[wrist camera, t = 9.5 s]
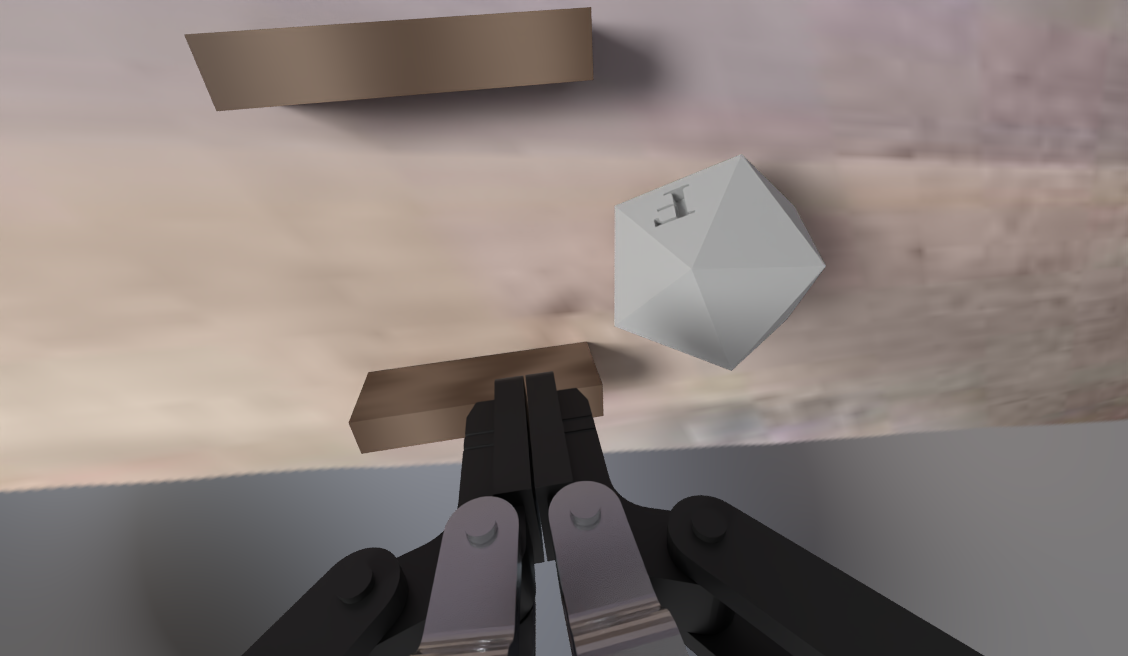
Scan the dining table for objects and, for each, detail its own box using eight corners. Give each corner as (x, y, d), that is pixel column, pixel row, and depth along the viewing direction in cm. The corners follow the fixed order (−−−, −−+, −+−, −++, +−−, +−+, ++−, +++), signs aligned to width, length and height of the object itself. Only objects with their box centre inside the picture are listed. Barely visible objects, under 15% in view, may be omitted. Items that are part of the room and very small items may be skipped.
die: (772, 153, 22) (786, 86, 13) (821, 319, 22) (866, 362, 13) (620, 214, 25) (549, 193, 17) (663, 357, 26) (617, 411, 17)
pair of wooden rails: (570, 20, 17) (591, 7, 14) (587, 370, 26) (603, 415, 23) (248, 42, 16) (184, 34, 13) (378, 401, 25) (361, 453, 21)
